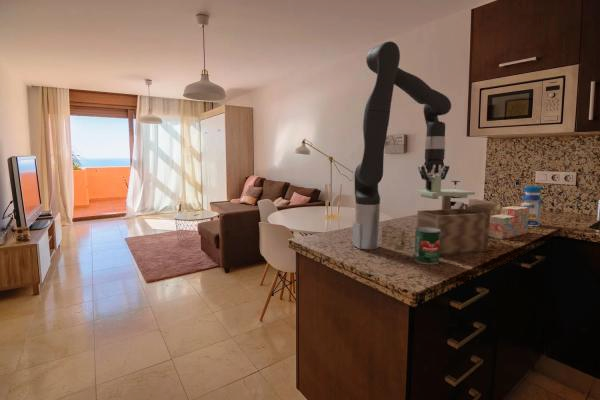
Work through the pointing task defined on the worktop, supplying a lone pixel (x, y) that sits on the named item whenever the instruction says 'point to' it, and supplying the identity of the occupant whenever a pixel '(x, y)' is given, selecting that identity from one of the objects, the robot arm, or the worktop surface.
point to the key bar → (484, 204)
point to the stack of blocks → (509, 222)
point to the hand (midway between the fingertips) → (432, 189)
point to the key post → (487, 222)
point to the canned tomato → (427, 245)
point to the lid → (437, 190)
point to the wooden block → (446, 203)
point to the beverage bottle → (532, 204)
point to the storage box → (456, 229)
